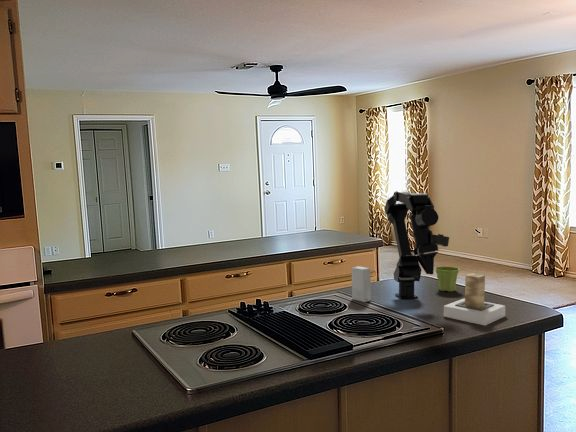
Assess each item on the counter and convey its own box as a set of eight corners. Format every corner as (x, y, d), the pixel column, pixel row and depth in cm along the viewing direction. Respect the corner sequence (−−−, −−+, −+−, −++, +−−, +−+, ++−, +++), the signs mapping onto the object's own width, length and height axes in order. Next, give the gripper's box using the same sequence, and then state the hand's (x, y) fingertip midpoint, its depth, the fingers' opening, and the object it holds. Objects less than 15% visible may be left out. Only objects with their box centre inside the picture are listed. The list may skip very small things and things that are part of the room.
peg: (464, 314, 167) (465, 275, 165) (471, 312, 170) (472, 273, 168) (477, 317, 163) (478, 277, 162) (484, 314, 166) (484, 275, 165)
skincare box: (371, 300, 188) (371, 267, 187) (363, 302, 185) (363, 269, 184) (359, 297, 193) (359, 265, 192) (350, 299, 190) (350, 267, 189)
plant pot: (429, 288, 205) (429, 267, 204) (447, 286, 209) (448, 265, 208) (445, 293, 197) (446, 271, 196) (464, 291, 200) (464, 269, 200)
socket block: (443, 316, 167) (443, 304, 166) (464, 308, 176) (464, 296, 176) (485, 325, 157) (485, 313, 156) (505, 316, 166) (505, 304, 166)
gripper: (449, 222, 167) (459, 270, 165) (440, 227, 185) (449, 270, 183) (414, 228, 168) (424, 276, 166) (409, 232, 186) (418, 275, 184)
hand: (430, 274), depth 175 cm, fingers open, 9 cm apart
